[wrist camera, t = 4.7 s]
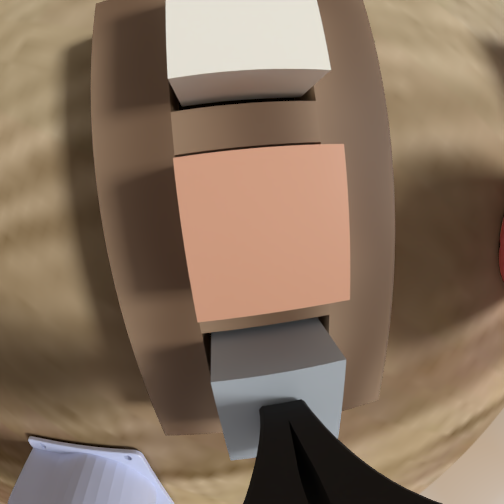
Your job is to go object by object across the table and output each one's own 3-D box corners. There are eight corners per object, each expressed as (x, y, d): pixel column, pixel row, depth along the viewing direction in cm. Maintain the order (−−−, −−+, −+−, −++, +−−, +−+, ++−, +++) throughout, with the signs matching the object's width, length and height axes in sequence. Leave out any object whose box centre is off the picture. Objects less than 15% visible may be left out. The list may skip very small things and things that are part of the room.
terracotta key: (202, 282, 10) (197, 322, 7) (186, 164, 9) (172, 158, 6) (316, 267, 11) (350, 299, 8) (308, 152, 10) (343, 144, 7)
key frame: (170, 401, 14) (165, 435, 11) (114, 29, 9) (96, 3, 7) (358, 372, 14) (378, 400, 12) (337, 13, 10) (359, -11, 8)
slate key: (226, 408, 12) (230, 460, 9) (211, 332, 11) (210, 382, 8) (316, 393, 12) (337, 440, 9) (316, 316, 11) (346, 359, 8)
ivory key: (182, 106, 9) (167, 79, 6) (177, 12, 8) (166, -34, 5) (300, 97, 9) (331, 69, 6) (285, 6, 8) (306, -38, 5)
